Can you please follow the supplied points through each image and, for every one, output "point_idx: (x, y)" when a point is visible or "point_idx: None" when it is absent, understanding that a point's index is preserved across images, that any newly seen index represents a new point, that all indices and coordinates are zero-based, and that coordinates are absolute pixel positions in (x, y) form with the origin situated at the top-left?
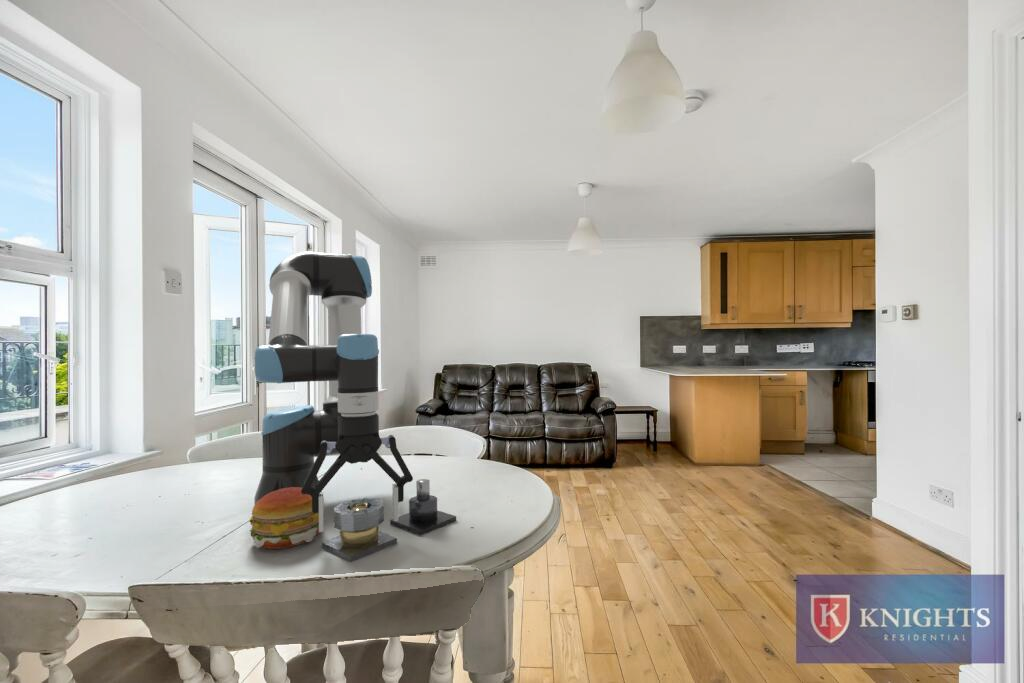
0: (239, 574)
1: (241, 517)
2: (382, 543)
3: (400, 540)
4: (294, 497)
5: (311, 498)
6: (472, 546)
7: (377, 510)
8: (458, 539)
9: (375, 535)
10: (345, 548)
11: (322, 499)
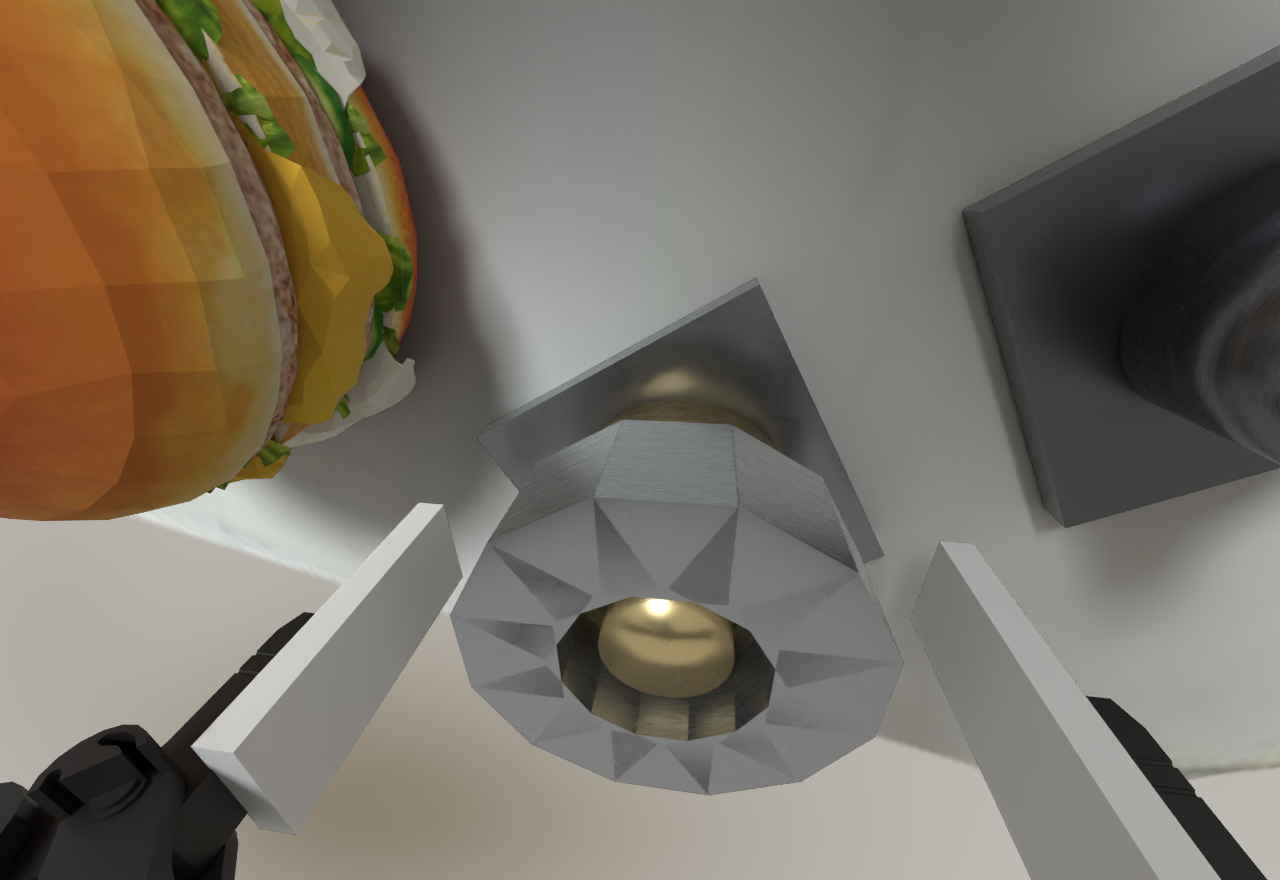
0: (242, 528)
1: None
2: None
3: (906, 512)
4: None
5: (108, 406)
6: (1187, 705)
7: (790, 774)
8: (1198, 627)
9: None
10: None
11: (314, 798)
